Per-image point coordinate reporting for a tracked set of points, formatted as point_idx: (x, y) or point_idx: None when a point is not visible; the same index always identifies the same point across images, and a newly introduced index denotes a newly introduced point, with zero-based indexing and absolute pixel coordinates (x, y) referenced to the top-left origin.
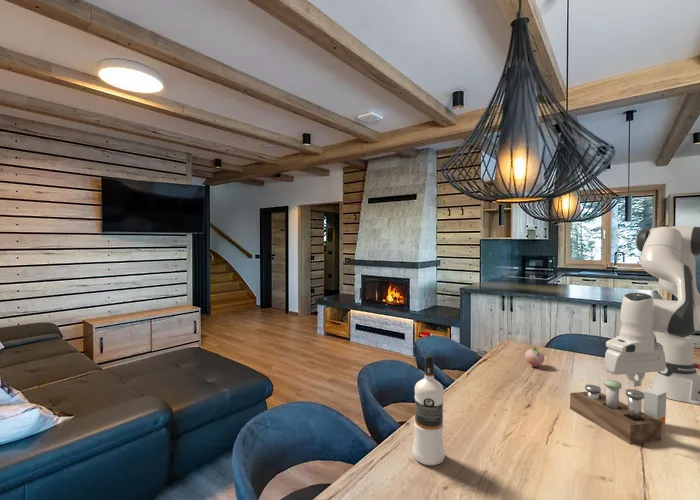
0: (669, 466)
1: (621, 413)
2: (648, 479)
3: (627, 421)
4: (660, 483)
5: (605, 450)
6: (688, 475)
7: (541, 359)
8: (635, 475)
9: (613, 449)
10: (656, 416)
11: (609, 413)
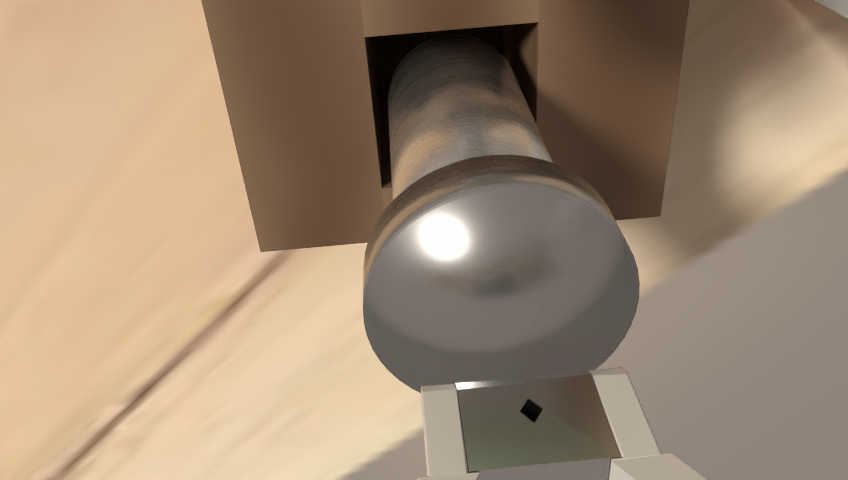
0: (338, 378)
1: (383, 3)
2: (110, 452)
3: (293, 185)
4: (153, 475)
5: (9, 216)
6: (370, 437)
7: None
8: (57, 428)
9: (86, 209)
10: (836, 7)
11: None
